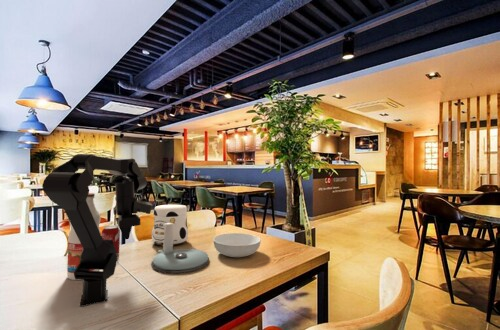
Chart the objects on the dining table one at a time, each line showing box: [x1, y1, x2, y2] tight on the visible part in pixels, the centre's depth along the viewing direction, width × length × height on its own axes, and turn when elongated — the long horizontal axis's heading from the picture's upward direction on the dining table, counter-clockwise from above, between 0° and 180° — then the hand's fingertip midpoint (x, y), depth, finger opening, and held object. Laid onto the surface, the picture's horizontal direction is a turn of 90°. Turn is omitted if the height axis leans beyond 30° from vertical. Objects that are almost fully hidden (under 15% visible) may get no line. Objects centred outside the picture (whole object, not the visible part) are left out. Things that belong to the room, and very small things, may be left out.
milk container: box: [151, 204, 189, 247], centre depth 126 cm, size 17×17×18 cm
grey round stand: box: [152, 223, 209, 270], centre depth 101 cm, size 21×23×13 cm
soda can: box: [101, 224, 121, 255], centre depth 107 cm, size 7×7×12 cm
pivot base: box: [150, 243, 210, 275], centre depth 102 cm, size 24×22×5 cm
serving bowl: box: [212, 232, 261, 258], centre depth 113 cm, size 21×21×7 cm
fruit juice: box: [66, 192, 102, 281], centre depth 88 cm, size 9×9×28 cm
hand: (126, 238), depth 89 cm, fingers closed
